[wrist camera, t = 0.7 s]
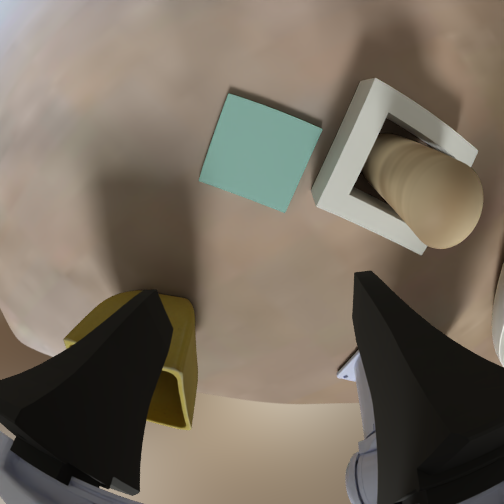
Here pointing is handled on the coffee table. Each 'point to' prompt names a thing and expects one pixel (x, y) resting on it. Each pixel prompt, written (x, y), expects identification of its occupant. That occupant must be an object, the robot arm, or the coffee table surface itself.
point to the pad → (258, 152)
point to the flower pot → (176, 364)
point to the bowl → (499, 318)
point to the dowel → (425, 189)
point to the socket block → (358, 148)
